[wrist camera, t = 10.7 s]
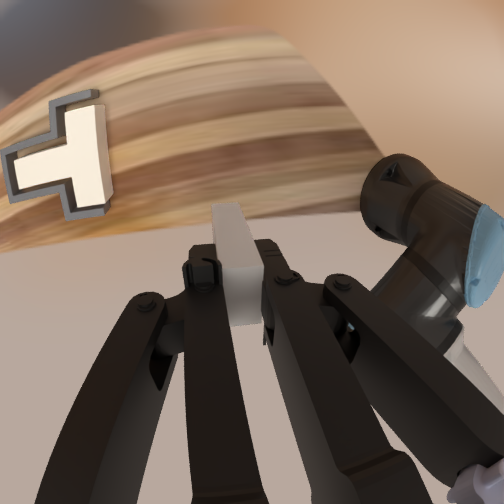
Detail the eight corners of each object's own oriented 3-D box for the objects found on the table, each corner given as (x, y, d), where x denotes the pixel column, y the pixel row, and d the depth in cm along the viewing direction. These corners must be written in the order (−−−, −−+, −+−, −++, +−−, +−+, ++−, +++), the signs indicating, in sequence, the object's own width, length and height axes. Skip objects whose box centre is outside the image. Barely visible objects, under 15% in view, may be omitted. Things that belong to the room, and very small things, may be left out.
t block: (104, 104, 26) (94, 104, 23) (113, 192, 32) (105, 203, 29) (25, 127, 24) (10, 131, 20) (38, 206, 30) (25, 217, 26)
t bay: (98, 90, 25) (90, 89, 22) (110, 206, 33) (104, 215, 30) (8, 119, 22) (-3, 122, 19) (26, 220, 30) (17, 229, 28)
